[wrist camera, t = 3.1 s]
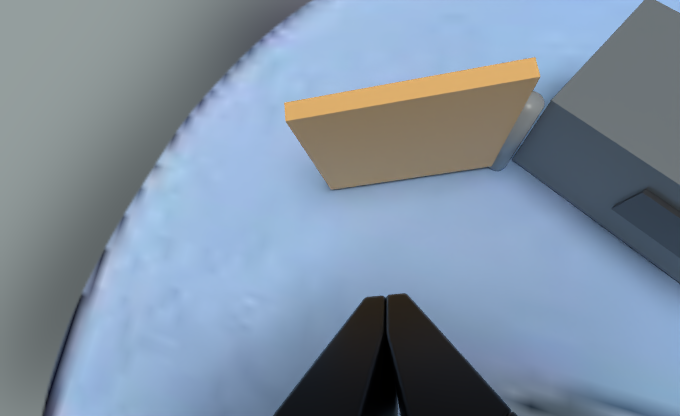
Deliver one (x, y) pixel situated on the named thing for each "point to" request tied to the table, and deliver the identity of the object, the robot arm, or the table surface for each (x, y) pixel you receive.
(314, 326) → the table surface
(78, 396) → the table surface
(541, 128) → the block
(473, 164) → the door
